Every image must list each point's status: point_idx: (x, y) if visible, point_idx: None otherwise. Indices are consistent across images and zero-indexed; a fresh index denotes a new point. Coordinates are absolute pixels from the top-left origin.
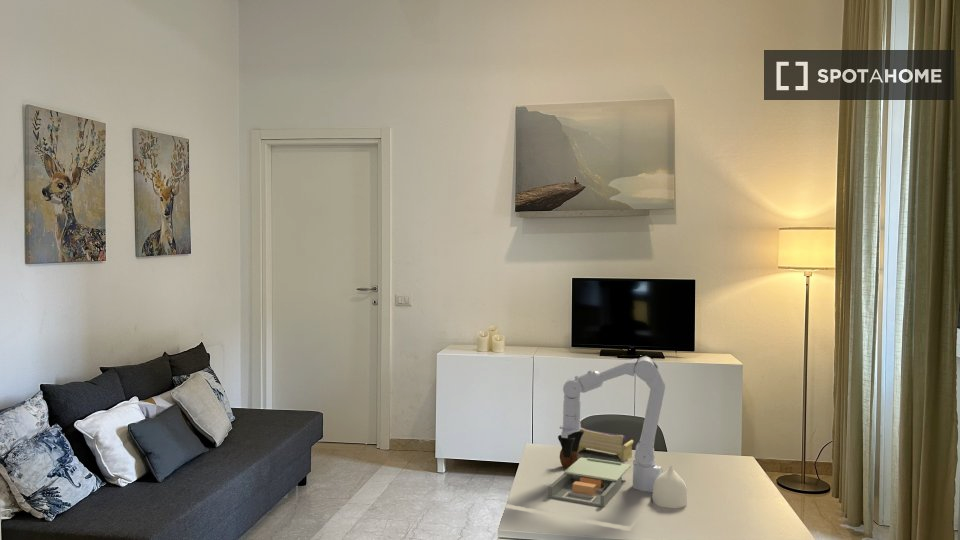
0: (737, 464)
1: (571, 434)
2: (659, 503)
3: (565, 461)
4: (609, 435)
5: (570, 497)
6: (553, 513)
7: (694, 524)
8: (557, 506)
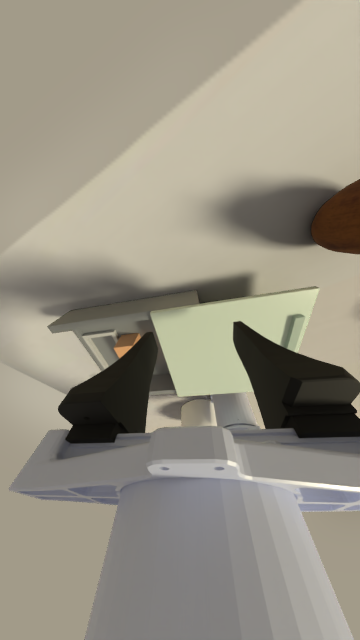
0: None
1: (271, 384)
2: (181, 409)
3: (322, 223)
4: None
5: (103, 340)
6: (41, 340)
7: (155, 429)
8: (67, 333)
